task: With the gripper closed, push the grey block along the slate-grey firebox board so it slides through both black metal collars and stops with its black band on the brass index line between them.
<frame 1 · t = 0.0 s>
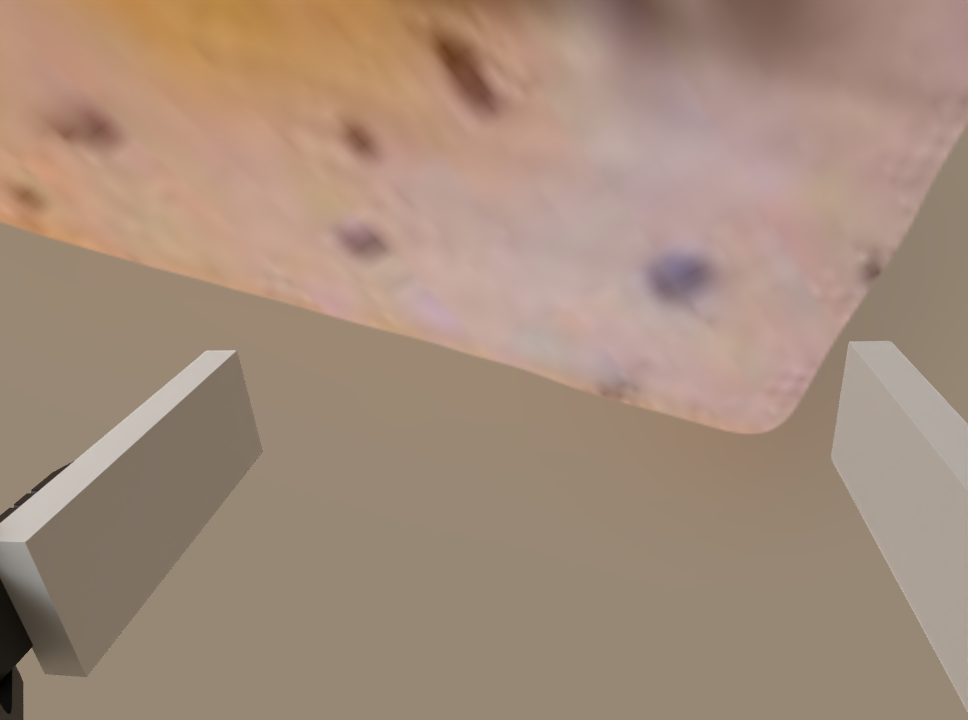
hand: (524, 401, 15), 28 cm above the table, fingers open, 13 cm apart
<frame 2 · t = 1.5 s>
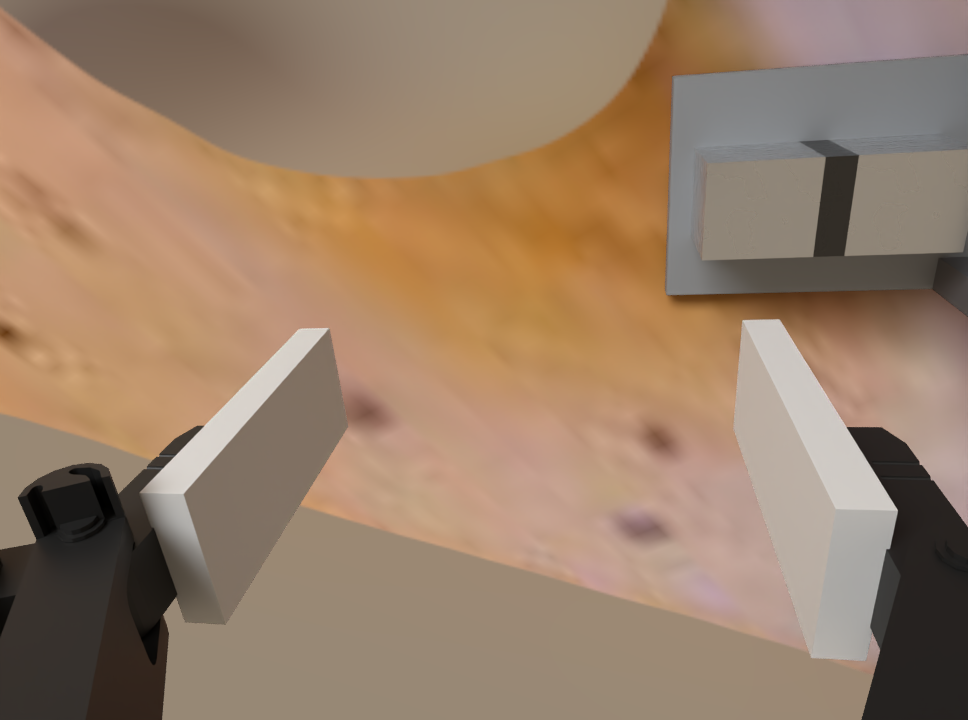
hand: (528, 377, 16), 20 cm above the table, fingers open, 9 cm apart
grey block: (807, 186, 31), point 1 cm above the table, touching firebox
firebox: (921, 177, 31), on the table
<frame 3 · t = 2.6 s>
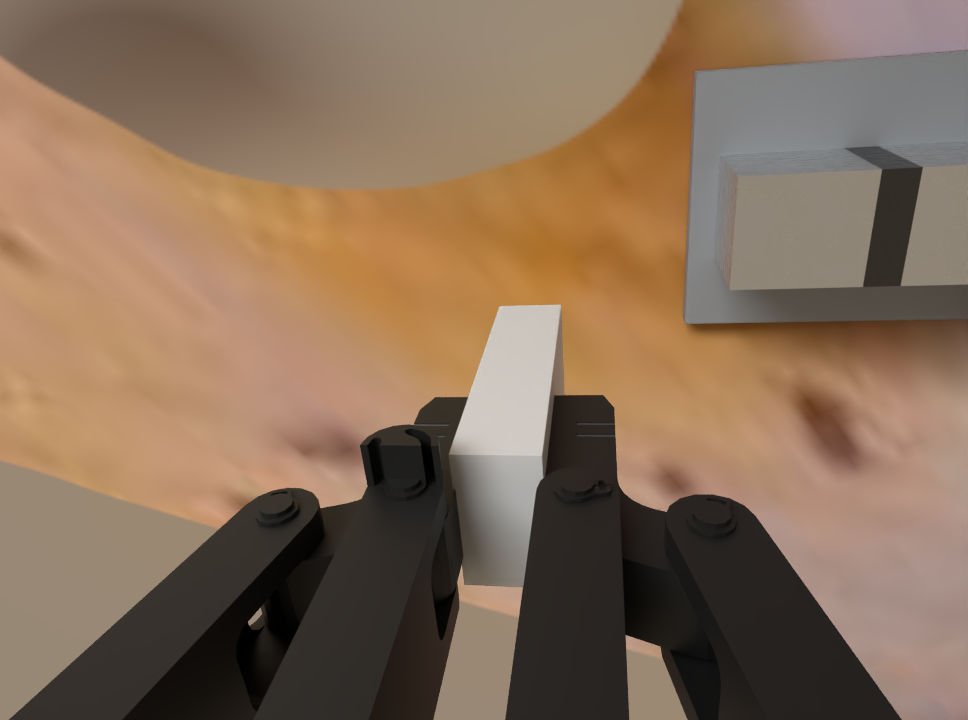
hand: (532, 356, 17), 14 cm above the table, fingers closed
grey block: (852, 200, 27), point 1 cm above the table, touching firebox
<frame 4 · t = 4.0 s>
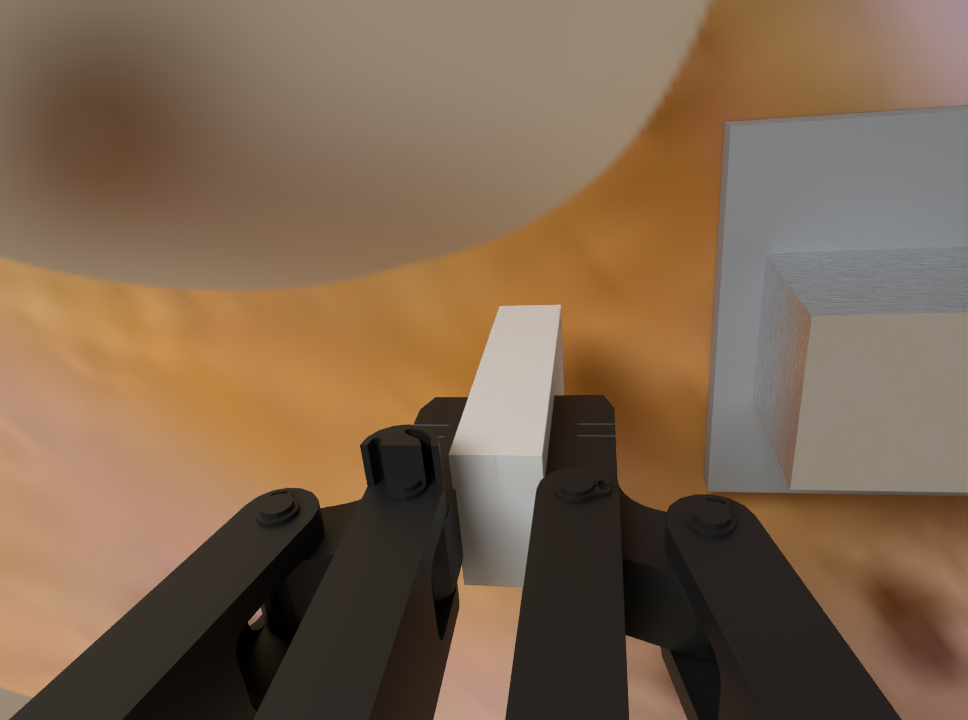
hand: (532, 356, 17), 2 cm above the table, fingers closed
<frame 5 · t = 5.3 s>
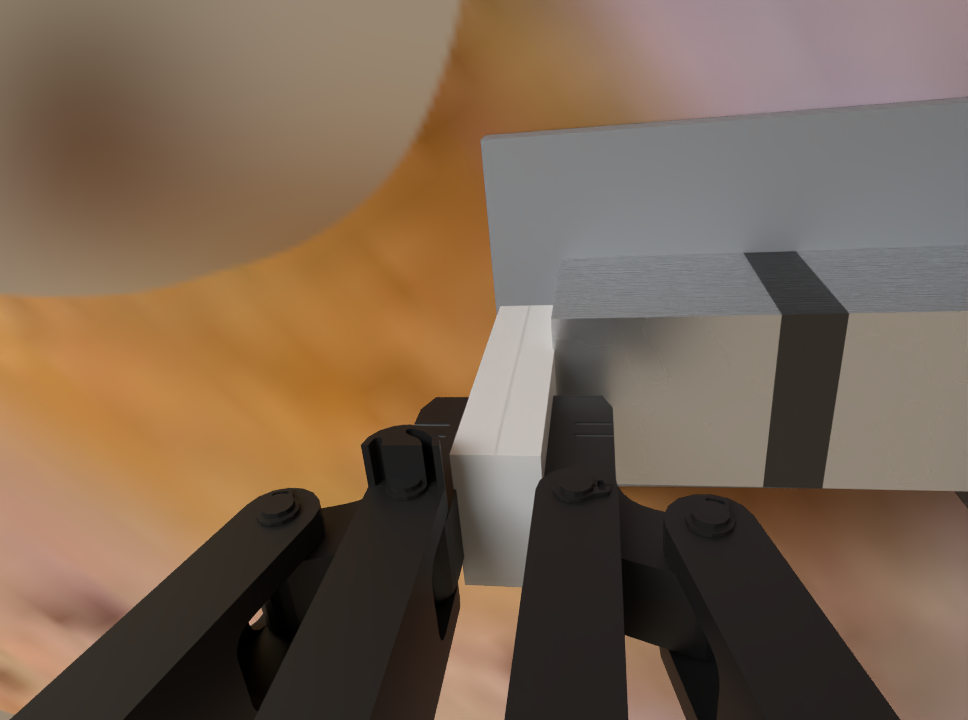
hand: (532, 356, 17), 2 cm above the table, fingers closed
grey block: (761, 328, 18), point 1 cm above the table, touching gripper
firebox: (933, 307, 17), on the table
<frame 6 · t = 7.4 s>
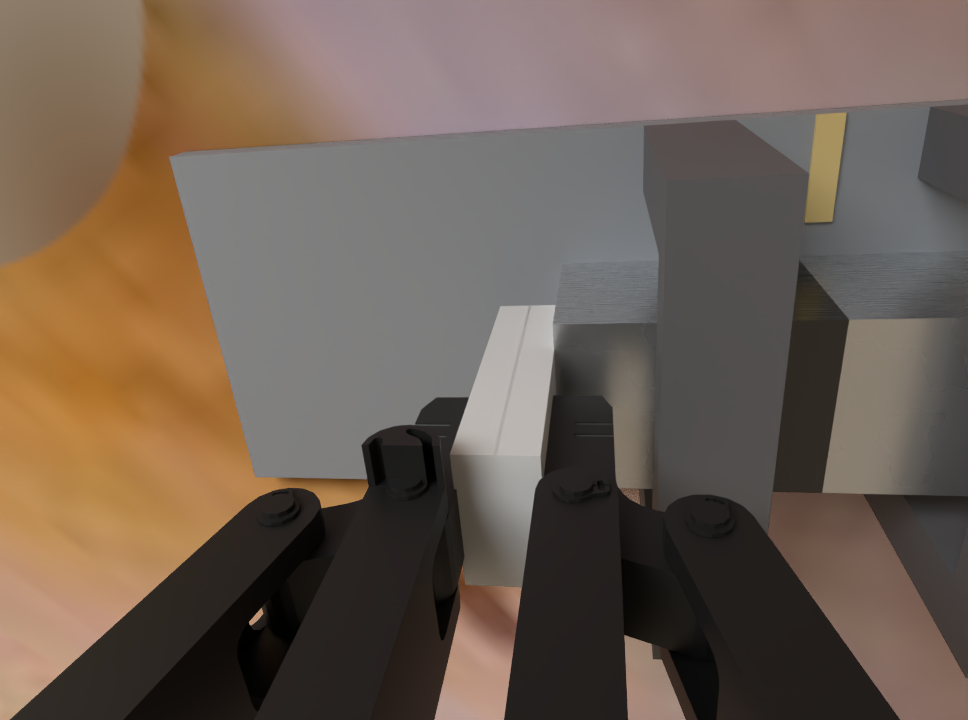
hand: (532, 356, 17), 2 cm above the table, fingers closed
grey block: (762, 332, 18), point 1 cm above the table, touching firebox, gripper
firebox: (601, 315, 19), on the table
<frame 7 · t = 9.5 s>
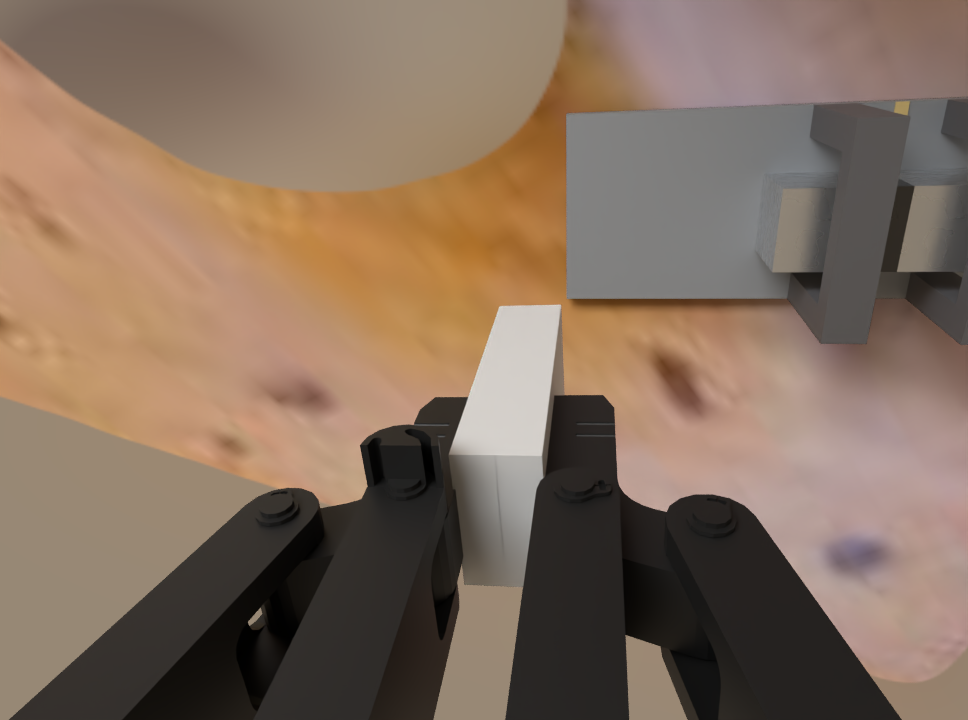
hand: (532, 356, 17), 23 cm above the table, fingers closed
grey block: (861, 210, 36), point 1 cm above the table, touching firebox
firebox: (775, 204, 37), on the table
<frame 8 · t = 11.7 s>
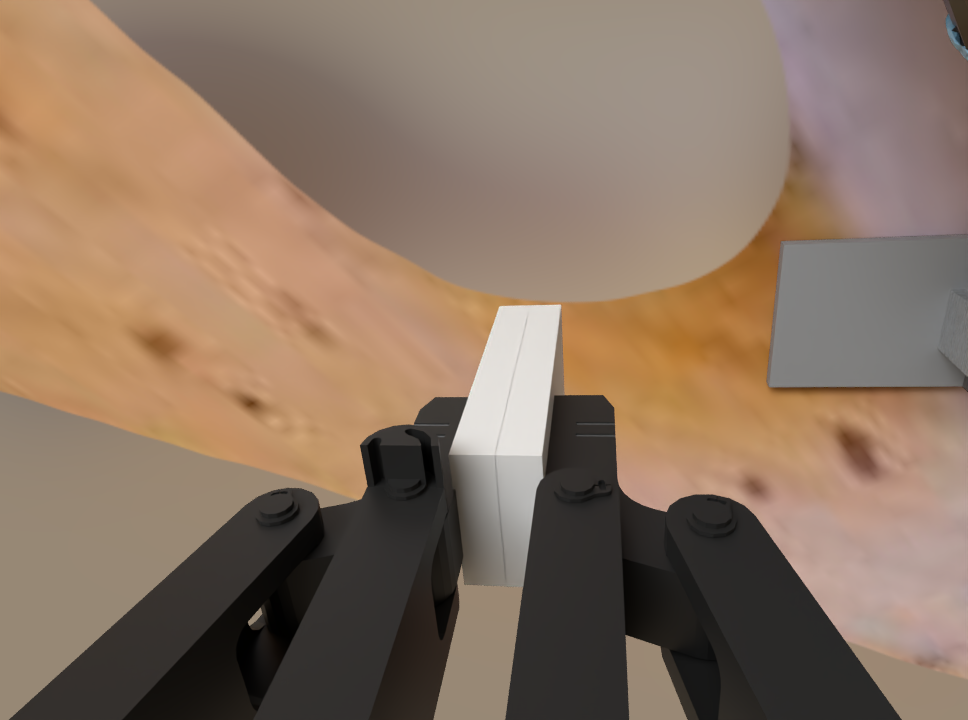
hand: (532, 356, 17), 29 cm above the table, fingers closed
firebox: (955, 311, 44), on the table
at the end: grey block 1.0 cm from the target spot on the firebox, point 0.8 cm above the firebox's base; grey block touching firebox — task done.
